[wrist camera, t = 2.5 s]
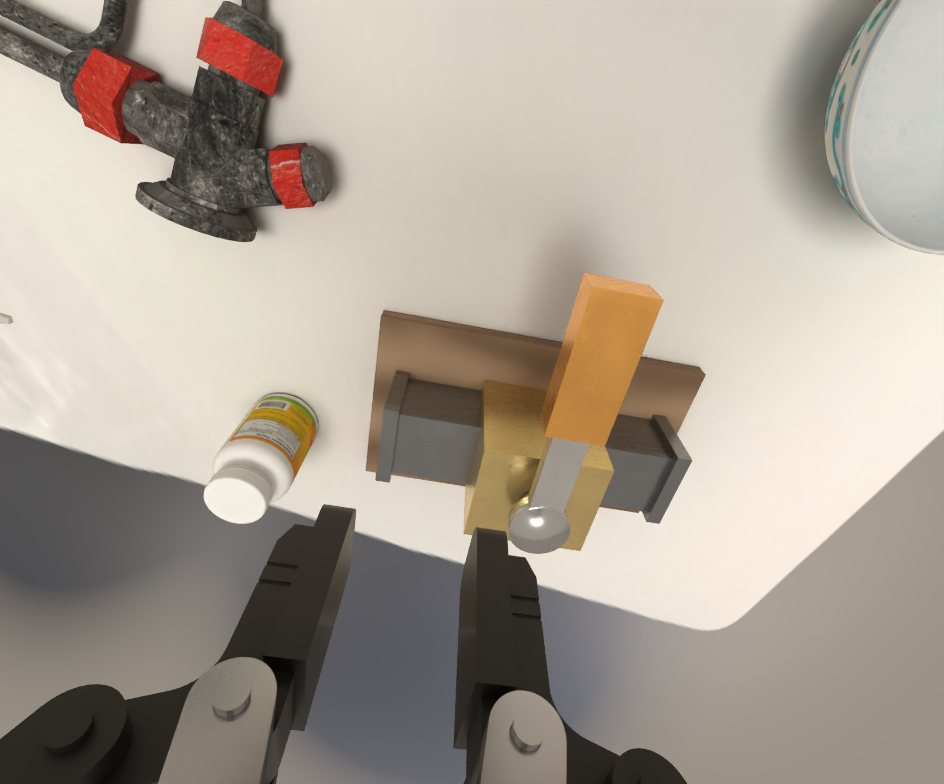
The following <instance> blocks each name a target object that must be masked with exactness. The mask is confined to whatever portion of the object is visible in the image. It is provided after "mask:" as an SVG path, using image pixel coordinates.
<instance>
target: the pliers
mask: <svg viewBox="0 0 944 784" xmlns="http://www.w3.org/2000/svg"><path fill="white" fill-rule="evenodd" d="M12 322H13V320H12V316H9V315H5V314H2V313H0V323H3V324H10V323H12Z"/></svg>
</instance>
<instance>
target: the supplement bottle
mask: <svg viewBox="0 0 944 784" xmlns="http://www.w3.org/2000/svg"><path fill="white" fill-rule="evenodd" d="M317 430H318V423H317V419H316V416H315V414H314V412H313V411H312V409H311V408H310V407H309V406H308V405H307V404H306V403H304V402H303V401H302V400H300V399H298V398H296V397H294V396H291V395H287V394H271V395H267V396H265V397H263V398H261V399H260V400H258V401H257V402H256V403H255V405H254V406H253V407H252V408H251V410H250V411H249V412H248V414H247V415H246V416H245V418H244V419H243V420H242V421H241V423H240V424H239V425H238V427H237V428H236V429H235V431H234V432H233V433H232V435H231V436H230V437H229V439H228V440H227V441H226V442H225V444H224V445H223V446H222V448H221V449H220V450H219V452H218V453H217V455H216V457H215V459H214V463H213V477H212V478H211V480H210V482H209V483H208V484H207V486H206V488H205V490H204V500H205V503H206V505H207V506H208V508H209V509H210V510H211V511H212V512H213V513H214V514H215V515H217V516H218V517H220V518H222V519H224V520H226V521H229V522H233V523H240V524H243V523H250V522H254V521H256V520H258V519H259V518H261V517H262V516H263V514H264V513H265V511H266V509H267V508H268V506H269V504H270V503H271V502H274V501H276V500H278V499H280V498H281V497H282V496H284V495H285V494H286V492H287V491H288V490H289V488H290V486H291V484H292V483H293V481H294V479H295V477H296V475H297V473H298V471H299V469H300V467H301V465H302V463H303V461H304V459H305V457H306V455H307V453H308V451H309V449H310V447H311V445H312V443H313V441H314V439H315V436H316V434H317Z"/></svg>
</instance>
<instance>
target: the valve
mask: <svg viewBox="0 0 944 784" xmlns="http://www.w3.org/2000/svg"><path fill="white" fill-rule="evenodd" d="M127 6H128V0H104V5H103V11H102V17H101V21H100V24H99V26H98V28H97V29H96V30H95V31H94V32H91V33H89V34H80V33H77V32H75V31H73V30H71V29H69V28H67V27H65V26H63V25H61V24H59V23H57V22H55V21H53V20H51V19H49V18H47V17H45V16H43V15H41V14H40V13H38V12H36V11H34V10H32V9H30V8H28V7H26V6H24V5H22V4H20V3H18V2H16V1H14V0H0V15H2V16H4V17H6V18H8V19H10V20H12V21H14V22H16V23H18V24H20V25H22V26H24V27H26V28H28V29H30V30H32V31H34V32H36V33H38V34H40V35H42V36H44V37H46V38H48V39H50V40H52V41H54V42H56V43H58V44H60V45H62V46H64V47H66V48H68V49H70V50H72V51H73V52H71V53H69V55H68V56H67V57H66V58H64V57H62V56H60V55H58V54H56V53H54V52H52V51H50V50H48V49H46V48H44V47H42V46H40V45H38V44H36V43H34V42H32V41H30V40H28V39H26V38H24V37H22V36H20V35H18V34H16V33H14V32H12V31H10V30H8V29H6V28H4V27H2V26H0V53H1V54H3V55H5V56H7V57H9V58H11V59H13V60H15V61H17V62H19V63H21V64H23V65H25V66H27V67H29V68H31V69H33V70H35V71H37V72H39V73H41V74H43V75H45V76H48V77H50V78H52V79H54V80H56V81H58V82H60V87H61V91H62V94H63V96H64V98H65V100H66V101H67V102H68V103H69V104H70V106H72V107H73V108H74V109H75V110H77V111H78V112H79V113H80V114H82V118H83V121H84V124H85V126H86V127H89V128H91V129H93V130H95V131H97V132H99V133H101V134H103V135H105V136H107V137H109V138H111V139H114V140H116V141H118V142H120V143H130V144H146V145H148V146H150V147H152V148H154V149H156V150H158V151H161V152H163V153H165V154H167V155H169V156H171V157H173V158H175V161H174V166H173V170H172V175H171V178H167V181H158V182H154V183H151V182H141V183H139V184H138V186H137V191H136V199H137V201H138V202H139V203H140V204H142V205H143V206H144V207H146V208H147V209H149V210H151V211H152V212H154V213H156V214H158V215H160V216H162V217H164V218H166V219H168V220H170V221H172V222H175V223H177V224H180V225H182V226H184V227H187V228H190V229H193V230H195V231H198V232H201V233H204V234H208V235H211V236H214V237H218V238H222V239H227V240H232V241H238V242H250V241H253V240H254V239H255V235H256V232H257V226H256V225H255V224H254V223H253V222H252V221H250V220H249V219H248V218H247V217H246V215H245V214H244V212H243V211H241V210H240V208H250V207H263V206H276V205H284V206H285V208H286V209H291V208H303V207H313V206H314V205H315V204H316V202H317V201H324V200H325V198H326V197H327V195H328V194H329V192H330V191H331V186H332V181H331V173H330V168H329V165H328V162H327V160H326V157H325V156H324V155H323V154H322V153H321V152H319V151H318V150H317V149H316V148H315V147H313V146H307V143H296V144H284V145H278V146H276V147H275V148H273V149H272V150H270V149H267V148H261V149H254V147H255V143H256V140H257V136H258V133H259V129H258V125H259V122H260V118H261V114H262V111H263V107H264V104H265V99H263V98H261V97H259V93H260V91H262V92H264V93H266V94H268V95H270V96H272V97H273V95H274V92H275V88H276V85H277V81H278V78H279V74H280V71H281V67H282V64H283V60H284V59H282V58H280V57H279V56H277V32H276V31H275V29H274V28H273V27H272V26H271V25H270V24H268V23H267V22H265V21H264V20H262V19H261V15H262V0H242V6H241V7H240V6H238V5H236V4H234V3H232V2H230V1H223V3H222V5H221V6H220V8H219V9H218V11H217V12H216V14H215V16H214V17H213V18H205V22H204V27H203V31H202V35H201V39H200V44H199V48H198V52H197V58H199V59H201V60H203V61H204V62H206V63H208V64H209V67H208V70H206V69H204V68H202V67H200V66H199V69H198V73H197V78H196V82H195V86H194V90H193V94H192V97H190V98H187V97H185V96H183V95H181V94H180V93H178V92H176V91H174V90H172V89H170V88H168V87H166V86H164V85H162V84H161V83H160V80H159V74H158V73H156V72H154V71H152V70H150V69H148V68H146V67H144V66H142V65H140V64H138V63H136V62H134V61H132V60H130V59H128V58H126V57H124V56H121V55H117V54H114V53H110V51H111V50H112V49H113V48H114V47H115V46H116V45H117V44H118V43H119V40H120V37H121V34H122V32H123V28H124V22H125V17H126V11H127Z"/></svg>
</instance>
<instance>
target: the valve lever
mask: <svg viewBox="0 0 944 784" xmlns="http://www.w3.org/2000/svg"><path fill="white" fill-rule="evenodd" d="M662 303H663V299H662V298H661V297H660V296H659V294H658V293H657V292H656V291H655V290H654V289H653V288H652V287H651V286H650V285H645V284H640V283H635V282H629V281H624V280H619V279H614V278H609V277H603V276H598V275H593V274H588V273H584V274H583V278H582V281H581V284H580V287H579V291H578V294H577V297H576V300H575V304H574V307H573V310H572V313H571V317H570V320H569V323H568V326H567V330H566V333H565V336H564V340H563V343H562V346H561V349H560V353H559V356H558V359H557V362H556V366H555V369H554V372H553V375H552V379H551V382H550V385H549V388H548V392H547V395H546V398H545V402H544V405H543V408H542V411H541V415H540V416H541V421H542V426H543V431H544V436H545V437H547V439H546V443H545V446H544V449H543V452H542V455H541V458H540V461H539V464H538V467H537V470H536V473H535V477H534V480H533V483H532V486H531V489H530V492H529V495H528V497H526V498H523V499H521V500H519V501H518V502H517V503H515V504H514V505H513V506H512V508H511V509H510V511H509V514H508V527H509V537H510V540H511V541H512V543H513V544H514V545H515V546H516V547H517V548H519V549H520V550H523V551H525V552H528V553H535V554H541V553H548V552H551V551H554V550H556V549H558V548H559V547H561V546H562V545H563V544H564V543H565V542H566V541H567V540H568V538H569V535H570V526H569V521H568V516H567V512H566V509H565V508H566V505H567V502H568V500H569V497H570V495H571V492H572V489H573V487H574V484H575V481H576V479H577V476H578V473H579V471H580V468H581V466H582V463H583V460H584V458H585V455H586V452H587V450H588V447H589V445H590V444H594V445H600V446H605V445H606V442H607V440H608V437H609V435H610V432H611V430H612V427H613V425H614V422H615V420H616V417H617V415H618V412H619V410H620V407H621V405H622V402H623V400H624V397H625V395H626V392H627V390H628V387H629V385H630V382H631V380H632V377H633V375H634V372H635V370H636V367H637V365H638V362H639V360H640V357H641V355H642V352H643V350H644V347H645V345H646V342H647V340H648V337H649V335H650V332H651V330H652V327H653V325H654V322H655V320H656V318H657V315H658V313H659V310H660V308H661V305H662Z"/></svg>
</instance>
